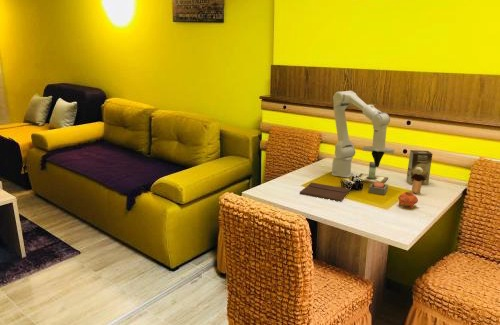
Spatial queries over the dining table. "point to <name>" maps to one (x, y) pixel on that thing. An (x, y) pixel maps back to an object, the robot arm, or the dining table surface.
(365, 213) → the dining table surface
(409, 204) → the pot
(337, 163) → the robot arm
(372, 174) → the marker
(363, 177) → the brown picture frame
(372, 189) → the button housing
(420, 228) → the dining table surface
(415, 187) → the grandmother figurine
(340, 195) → the notebook
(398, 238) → the dining table surface
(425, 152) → the coffee box
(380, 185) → the button
